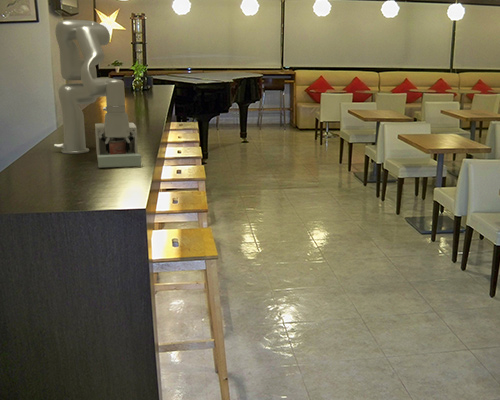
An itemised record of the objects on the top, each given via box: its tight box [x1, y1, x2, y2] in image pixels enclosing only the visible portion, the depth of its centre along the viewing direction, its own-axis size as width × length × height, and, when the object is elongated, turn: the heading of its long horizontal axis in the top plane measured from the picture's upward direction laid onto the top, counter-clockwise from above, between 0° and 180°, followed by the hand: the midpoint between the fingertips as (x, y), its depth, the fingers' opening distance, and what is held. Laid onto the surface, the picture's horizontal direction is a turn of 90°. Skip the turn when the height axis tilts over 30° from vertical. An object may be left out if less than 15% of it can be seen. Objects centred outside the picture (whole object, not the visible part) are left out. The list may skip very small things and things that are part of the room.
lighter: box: [109, 138, 126, 155], centre depth 251 cm, size 8×3×10 cm, turn 141°
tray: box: [97, 152, 142, 169], centre depth 251 cm, size 20×17×4 cm
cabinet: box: [94, 122, 139, 161], centre depth 264 cm, size 18×17×14 cm
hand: (118, 152), depth 251 cm, fingers closed on lighter, 7 cm apart
